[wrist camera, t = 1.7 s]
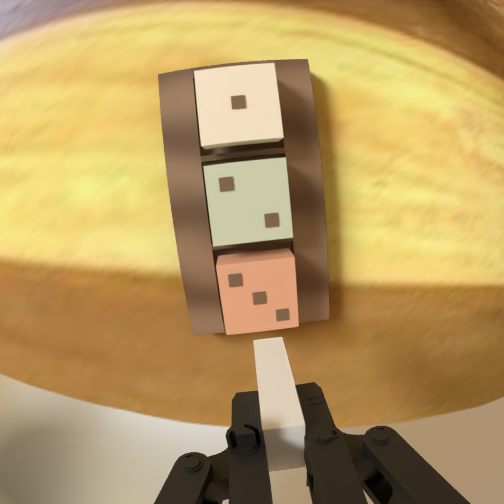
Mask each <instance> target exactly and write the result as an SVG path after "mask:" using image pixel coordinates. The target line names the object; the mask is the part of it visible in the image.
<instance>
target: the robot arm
mask: <svg viewBox="0 0 504 504" xmlns="http://www.w3.org/2000/svg"><path fill="white" fill-rule="evenodd" d="M253 341H254V351H255V362H256V372H257V382H258V391H250V392H239V393H236V395H235V396H234V398H233V399H232V426H231V427H230V428H229V429H228V430H227V433H226V439H227V443H228V448H227V449H226V450H224V451H223V452H221V453H218V454H216V455H212V456H209V457H207V456H206V455H204V454H202V453H198V452H190V453H186V454H184V455H182V456H180V457H179V458H178V459H177V461H176V462H175V464H174V466H173V468H172V470H171V472H170V474H169V476H168V478H167V480H166V482H165V483H164V485H163V487H162V489H161V491H160V493H159V495H158V497H157V499H156V501H155V503H154V504H222V502H223V500H226V499H229V504H273V502H272V493H271V485H270V478H269V472H270V471H279V470H286V469H293V468H299V467H305V464H306V468H307V486H309V489H310V494H311V499H312V503H313V504H368V503H367V500H366V497H365V494H364V492H363V489H364V491H365V492H366V493H367V495H368V496H369V498H370V499H371V500H372V502H373V503H374V504H470V503H469V502H468V501H467V500H466V499H465V498H464V497H463V496H462V495H461V494H460V493H458V491H457V490H456V489H454V488H453V487H452V486H451V485H450V484H449V483H448V482H447V481H446V480H445V479H444V478H443V477H442V476H441V475H440V474H439V473H438V472H437V471H436V470H435V469H433V467H432V466H431V465H430V464H429V463H427V462H426V461H425V460H424V459H423V458H422V457H421V456H420V455H419V454H418V453H417V452H416V451H415V450H414V449H413V448H412V447H411V446H410V445H409V444H408V443H407V442H406V441H405V440H404V439H403V438H402V437H401V436H400V435H399V434H398V433H397V432H396V431H395V430H393V429H392V428H390V427H387V426H376V427H373V428H371V429H369V430H368V431H367V432H366V433H365V435H351V434H346V433H343V432H341V431H340V430H339V429H337V428H336V426H335V424H334V421H333V419H332V416H331V413H330V411H329V408H328V405H327V403H326V400H325V397H324V394H323V392H322V389H321V388H320V387H319V386H318V385H317V384H316V383H315V382H312V383H306V384H300V385H295V384H294V380H293V376H292V372H291V369H290V365H289V361H288V357H287V353H286V350H285V346H284V342H283V338H282V337H277V338H269V339H260V340H253ZM362 488H363V489H362Z"/></svg>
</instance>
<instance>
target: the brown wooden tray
mask: <svg viewBox="0 0 504 504" xmlns="http://www.w3.org/2000/svg"><path fill="white" fill-rule="evenodd" d="M264 63H274V64H275V72H276V79H277V87H278V94H279V102H280V111H281V119H282V128H283V137H284V138H282V139H281V140H280V141H279V142H268V143H257V144H247V145H237V146H228V147H220V148H212V149H204V148H203V147H202V146H201V140H200V130H199V120H198V110H197V99H196V88H195V76H194V71H197V70H204V69H212V68H220V67H228V66H238V65H250V64H264ZM158 80H159V95H160V109H161V121H162V132H163V142H164V152H165V162H166V170H167V179H168V187H169V195H170V202H171V210H172V217H173V224H174V231H175V237H176V244H177V250H178V256H179V262H180V268H181V274H182V280H183V285H184V291H185V296H186V301H187V307H188V312H189V317H190V322H191V327H192V332H193V335H202V334H214V333H225V332H226V329H225V323H224V316H223V310H222V303H221V297H220V290H219V283H218V276H217V269H216V264H217V259H218V256H221V255H230V254H239V253H247V252H256V251H265V250H274V249H283V248H289V249H290V251H291V252H292V254H293V255H294V257H295V271H296V286H297V302H298V321H299V324H301V323H308V322H315V321H321V320H328V319H329V282H328V255H327V235H326V218H325V203H324V190H323V178H322V167H321V157H320V147H319V138H318V129H317V121H316V113H315V105H314V97H313V90H312V83H311V76H310V70H309V64H308V59H291V60H266V61H251V62H239V63H229V64H220V65H212V66H205V67H198V68H191V69H185V70H179V71H174V72H168V73H163V74H158ZM285 157H286V165H287V175H288V185H289V196H290V207H291V218H292V230H293V238H285V239H276V240H267V241H258V242H249V243H240V244H231V245H222V246H214V247H213V240H212V233H211V225H210V217H209V209H208V201H207V193H206V185H205V176H204V167H203V166H209V165H216V164H225V163H233V162H242V161H252V160H262V159H273V158H285Z"/></svg>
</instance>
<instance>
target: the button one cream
mask: <svg viewBox="0 0 504 504" xmlns="http://www.w3.org/2000/svg"><path fill="white" fill-rule="evenodd" d="M194 76H195V88H196V99H197V110H198V120H199V130H200V140H201V146H202V147H203V148H204V149H212V148H220V147H228V146H237V145H247V144H257V143H268V142H279V141H280V140H281V139H282V138H284V137H283V128H282V119H281V111H280V102H279V94H278V87H277V79H276V72H275V64H274V63H264V64H250V65H238V66H228V67H220V68H212V69H204V70H197V71H194Z"/></svg>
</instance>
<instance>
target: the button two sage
mask: <svg viewBox="0 0 504 504" xmlns="http://www.w3.org/2000/svg"><path fill="white" fill-rule="evenodd" d="M203 167H204V176H205V185H206V193H207V201H208V209H209V217H210V225H211V233H212V240H213V247H214V246H222V245H231V244H240V243H249V242H258V241H267V240H276V239H285V238H293V230H292V218H291V207H290V196H289V185H288V175H287V165H286V157H285V158H273V159H262V160H252V161H242V162H233V163H225V164H216V165H209V166H203Z"/></svg>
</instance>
